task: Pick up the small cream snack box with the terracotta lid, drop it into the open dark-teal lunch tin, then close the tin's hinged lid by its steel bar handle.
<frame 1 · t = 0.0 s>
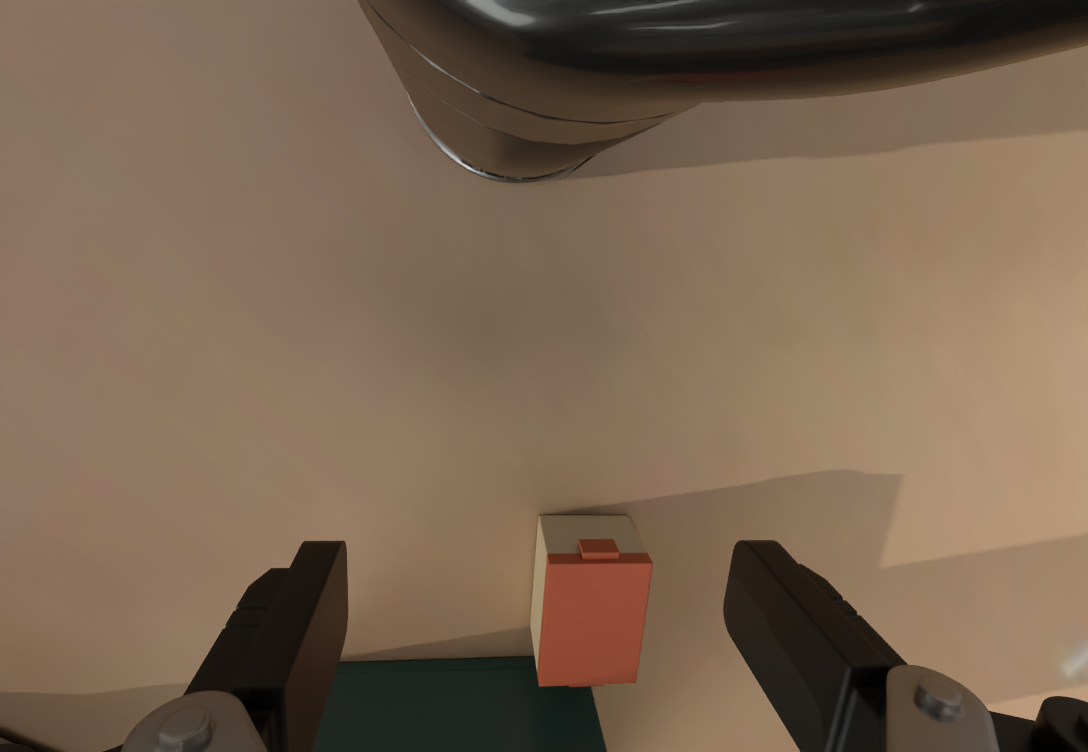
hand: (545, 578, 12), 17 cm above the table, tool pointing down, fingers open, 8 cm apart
lunch tin: (446, 745, 34), on the table
snack box: (578, 570, 32), on the table
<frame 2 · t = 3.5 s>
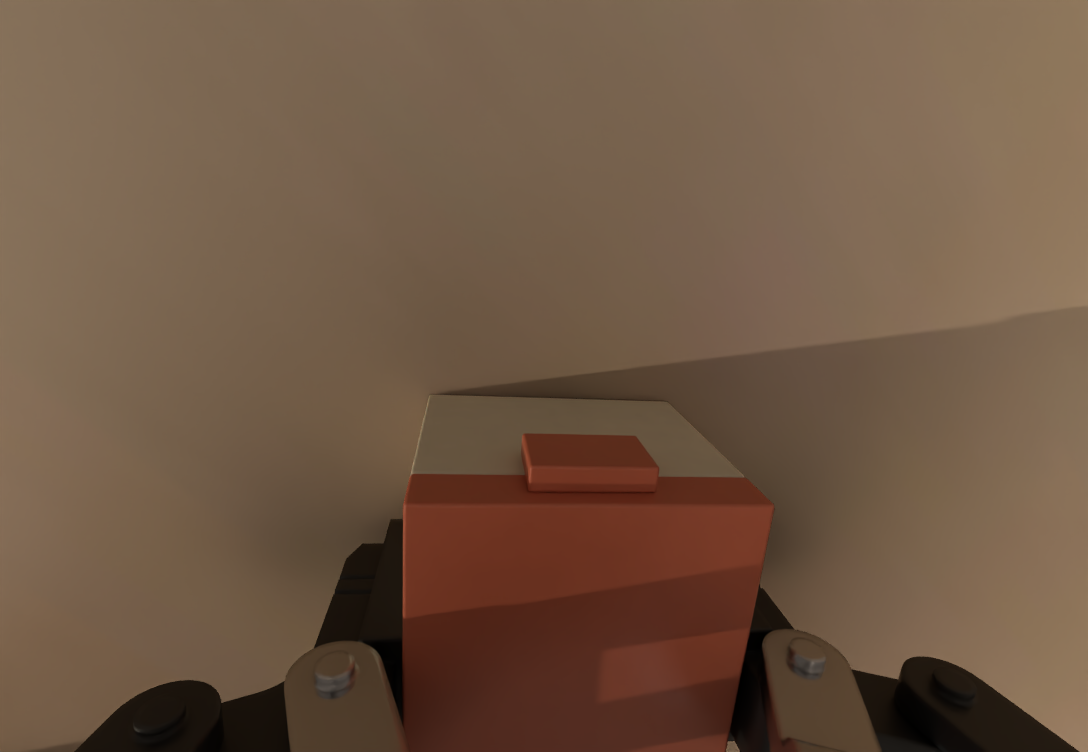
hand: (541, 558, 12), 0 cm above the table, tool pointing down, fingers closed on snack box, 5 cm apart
snack box: (540, 546, 13), on the table, touching gripper
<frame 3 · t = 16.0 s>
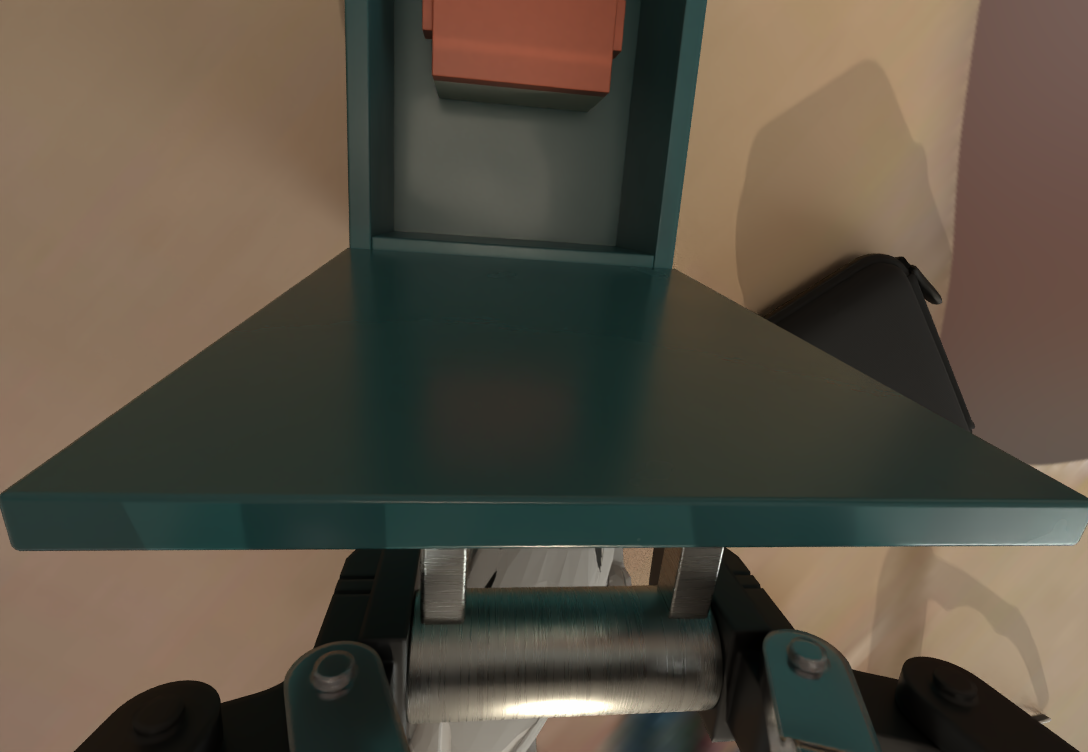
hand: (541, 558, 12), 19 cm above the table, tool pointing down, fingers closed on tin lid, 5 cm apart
lunch tin: (514, 87, 27), on the table
snack box: (517, 45, 26), point 1 cm above the table, touching lunch tin
car model: (502, 630, 36), on the table
carrying case: (852, 382, 34), on the table
tin lid: (533, 411, 15), point 16 cm above the table, hinge at 95.0°, touching gripper
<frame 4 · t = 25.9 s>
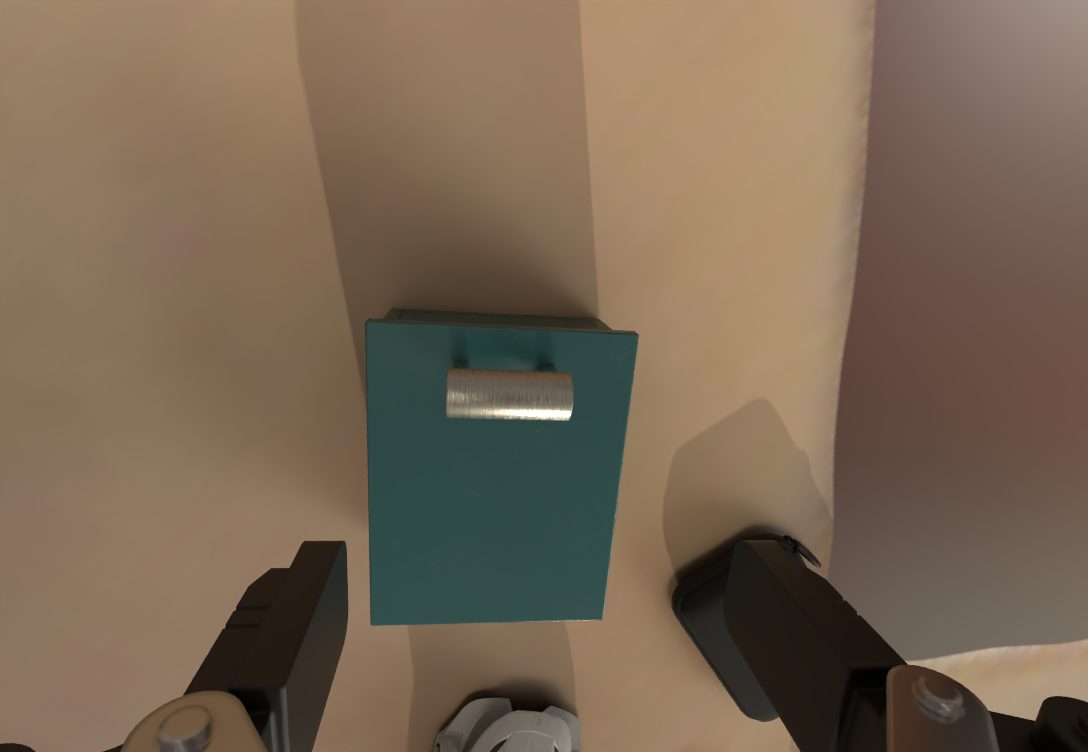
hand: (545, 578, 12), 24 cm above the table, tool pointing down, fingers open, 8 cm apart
lunch tin: (491, 434, 36), on the table
carrying case: (759, 610, 43), on the table
tin lid: (499, 508, 26), point 10 cm above the table, hinge at 1.3°
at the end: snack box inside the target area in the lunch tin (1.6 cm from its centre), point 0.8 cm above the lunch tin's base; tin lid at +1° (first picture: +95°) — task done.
